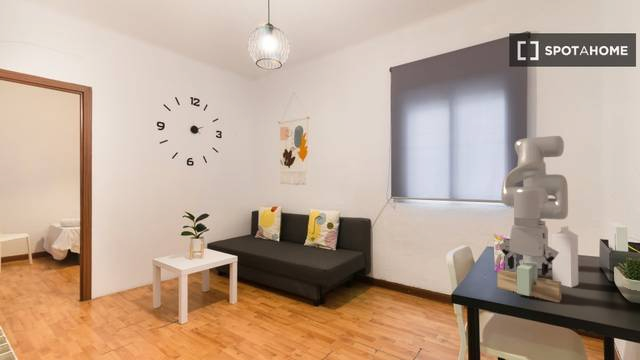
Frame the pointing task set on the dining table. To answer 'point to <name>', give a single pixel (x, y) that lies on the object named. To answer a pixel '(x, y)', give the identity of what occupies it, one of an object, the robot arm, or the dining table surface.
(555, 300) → the oak rail
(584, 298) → the dining table surface
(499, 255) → the candy bar box
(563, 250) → the milk
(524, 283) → the pale green rectangular block
